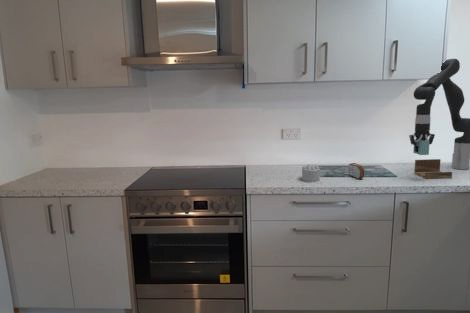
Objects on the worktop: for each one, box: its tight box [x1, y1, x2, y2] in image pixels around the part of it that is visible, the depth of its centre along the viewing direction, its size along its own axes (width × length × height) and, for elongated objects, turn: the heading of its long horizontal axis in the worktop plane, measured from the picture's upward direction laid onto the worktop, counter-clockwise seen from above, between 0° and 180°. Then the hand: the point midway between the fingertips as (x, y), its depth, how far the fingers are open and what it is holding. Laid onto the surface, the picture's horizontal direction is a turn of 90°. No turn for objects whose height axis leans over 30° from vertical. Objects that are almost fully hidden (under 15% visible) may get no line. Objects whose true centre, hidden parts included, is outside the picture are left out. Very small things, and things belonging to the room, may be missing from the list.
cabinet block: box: [413, 138, 430, 156], centre depth 192 cm, size 8×4×8 cm, turn 0°
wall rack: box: [413, 158, 453, 180], centre depth 202 cm, size 14×15×9 cm
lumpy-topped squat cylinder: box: [301, 164, 321, 183], centre depth 203 cm, size 10×13×9 cm
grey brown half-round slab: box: [348, 162, 365, 180], centre depth 205 cm, size 15×3×8 cm, turn 9°
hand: (421, 151), depth 193 cm, fingers closed on cabinet block, 4 cm apart
